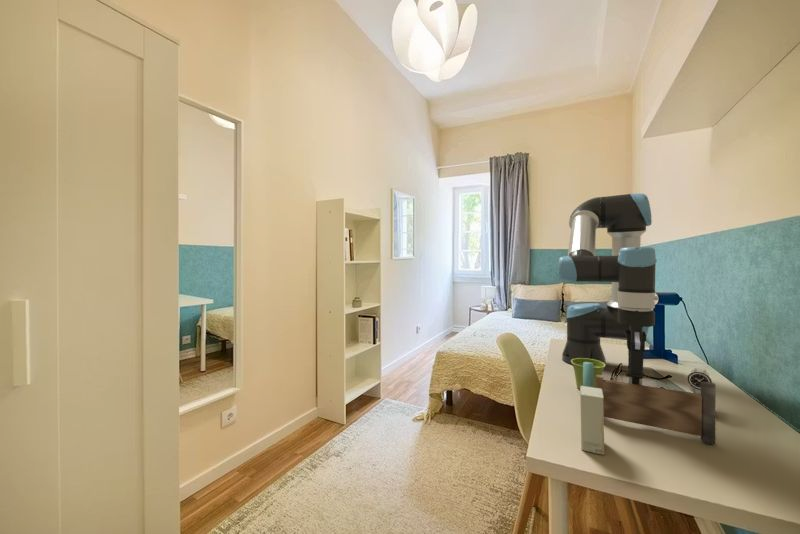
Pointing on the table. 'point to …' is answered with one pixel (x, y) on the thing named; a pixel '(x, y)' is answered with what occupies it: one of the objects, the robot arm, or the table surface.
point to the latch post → (588, 374)
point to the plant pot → (578, 369)
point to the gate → (662, 407)
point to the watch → (697, 379)
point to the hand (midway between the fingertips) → (634, 402)
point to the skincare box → (592, 419)
